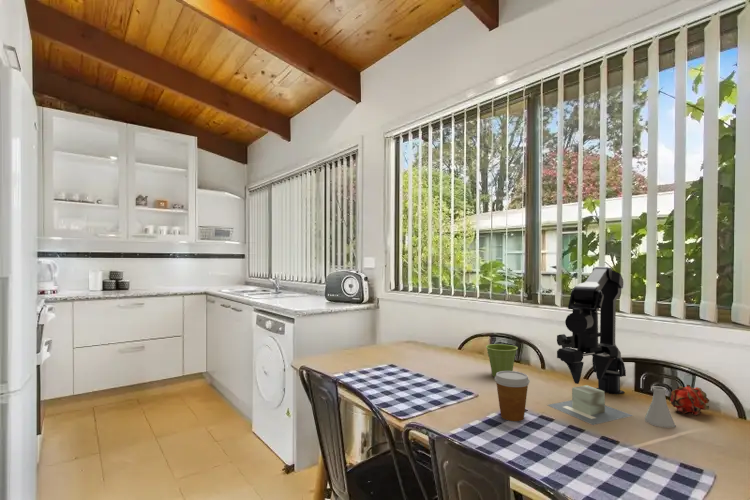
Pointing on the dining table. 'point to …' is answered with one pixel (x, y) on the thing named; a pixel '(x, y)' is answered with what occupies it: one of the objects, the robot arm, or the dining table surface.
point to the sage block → (588, 400)
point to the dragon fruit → (689, 399)
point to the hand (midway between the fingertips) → (588, 381)
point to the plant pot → (501, 357)
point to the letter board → (592, 419)
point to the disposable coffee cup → (512, 394)
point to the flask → (659, 409)
